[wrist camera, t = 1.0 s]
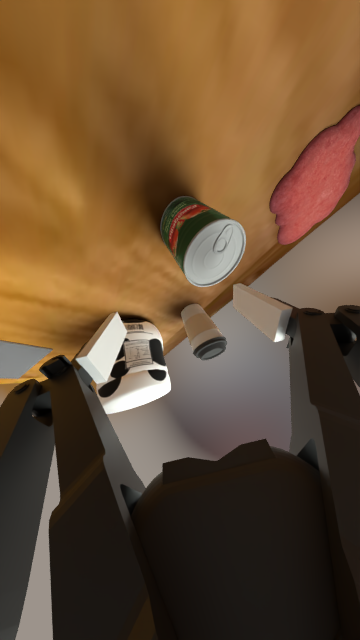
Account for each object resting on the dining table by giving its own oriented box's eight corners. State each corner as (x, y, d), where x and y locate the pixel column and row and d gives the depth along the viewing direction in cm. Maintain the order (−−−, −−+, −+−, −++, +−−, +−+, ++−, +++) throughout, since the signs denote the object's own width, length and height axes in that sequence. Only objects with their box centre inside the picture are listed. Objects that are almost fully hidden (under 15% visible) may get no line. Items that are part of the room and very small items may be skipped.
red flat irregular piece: (263, 190, 22) (272, 192, 21) (370, 71, 16) (391, 65, 15) (278, 252, 34) (284, 256, 33) (341, 199, 28) (351, 201, 27)
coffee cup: (191, 323, 45) (211, 363, 37) (171, 318, 40) (189, 364, 31) (209, 305, 41) (237, 346, 32) (190, 297, 35) (217, 344, 27)
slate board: (-55, 375, 28) (-56, 377, 28) (-22, 336, 24) (-23, 338, 24) (18, 377, 37) (18, 378, 37) (52, 348, 33) (52, 350, 33)
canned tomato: (194, 255, 26) (222, 289, 20) (156, 247, 23) (175, 285, 16) (213, 205, 21) (260, 230, 14) (166, 185, 17) (202, 206, 11)
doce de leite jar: (122, 353, 46) (126, 412, 36) (77, 333, 32) (63, 421, 21) (166, 333, 45) (183, 387, 35) (140, 303, 31) (157, 379, 21)
